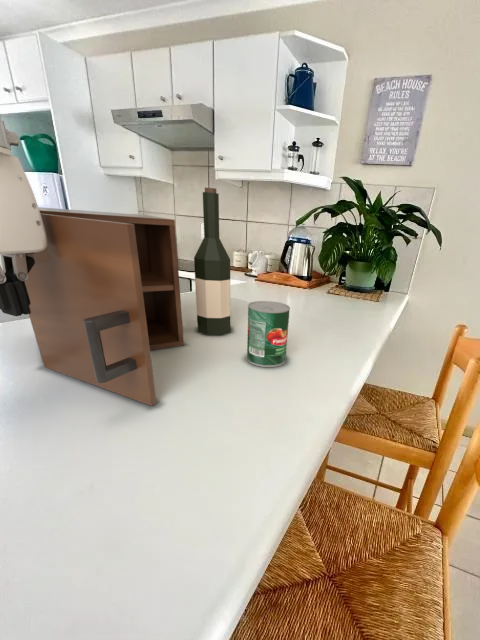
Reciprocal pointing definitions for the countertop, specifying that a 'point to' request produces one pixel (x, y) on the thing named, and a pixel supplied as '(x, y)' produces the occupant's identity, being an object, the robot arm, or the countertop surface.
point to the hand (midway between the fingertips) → (16, 313)
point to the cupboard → (150, 271)
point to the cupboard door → (92, 306)
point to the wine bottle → (212, 273)
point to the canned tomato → (267, 333)
